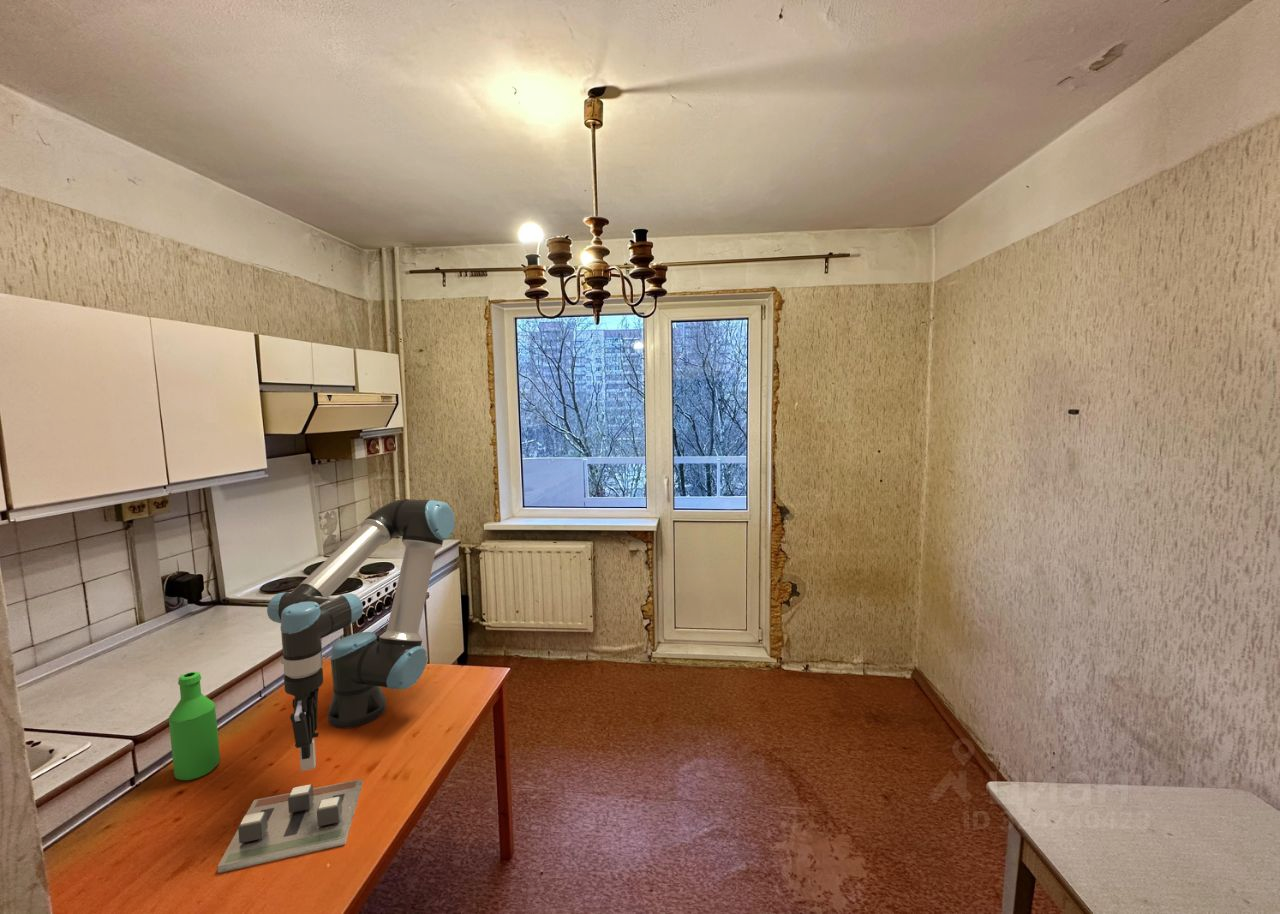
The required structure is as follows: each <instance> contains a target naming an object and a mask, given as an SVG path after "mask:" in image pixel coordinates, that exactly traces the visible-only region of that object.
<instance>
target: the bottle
mask: <svg viewBox="0 0 1280 914" xmlns="http://www.w3.org/2000/svg"><path fill="white" fill-rule="evenodd" d="M201 680H202V676H201V673H200V672H199V671H191V672H189V671H188V672H186V673H184V674H182V675H180V676H179V677H178V681H177V685H178V686H179V692H180V693H179V694H180V700H179V701H178V703H177V704H176V706H175V707H174V708H173V710H172V712H171V713H170V714H169V716H168V724H169V727H168V728H169V735H170V744H171V745H170V746H171V747H170V748H171V755H172V768H173V775H174V776H173V777H174V778H175V779H176V780H180V781H192V780H196V779H198V778H202V777H204V776H206V775H208V774H209V773H211V772H212V771H213V770H214V769H216V767H217V766H218V765H219V764H220V761H221V757H220V755H221V754H220V743H219V742H220V741H219V731H218V730H219V729H218V721H217V713H216V712H217V711H216V704H215V702H214V701H213V700H211V699H210V698H208V697H207V696H206V695H204V694H202V688H201V686H202V685H201Z"/></svg>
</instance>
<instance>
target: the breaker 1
mask: <svg viewBox="0 0 1280 914" xmlns="http://www.w3.org/2000/svg"><path fill="white" fill-rule="evenodd" d="M267 828H268V824H267V812H260V813H255V814H250V815H246V814H245V815H244V816H243V818H242V820H241V821H240V824H239V825H238V827H237V830H238V833H239V843H244V842H248V841H253V840H258V839H262V838H263V836H264V834H265V832H266V830H267Z"/></svg>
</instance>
